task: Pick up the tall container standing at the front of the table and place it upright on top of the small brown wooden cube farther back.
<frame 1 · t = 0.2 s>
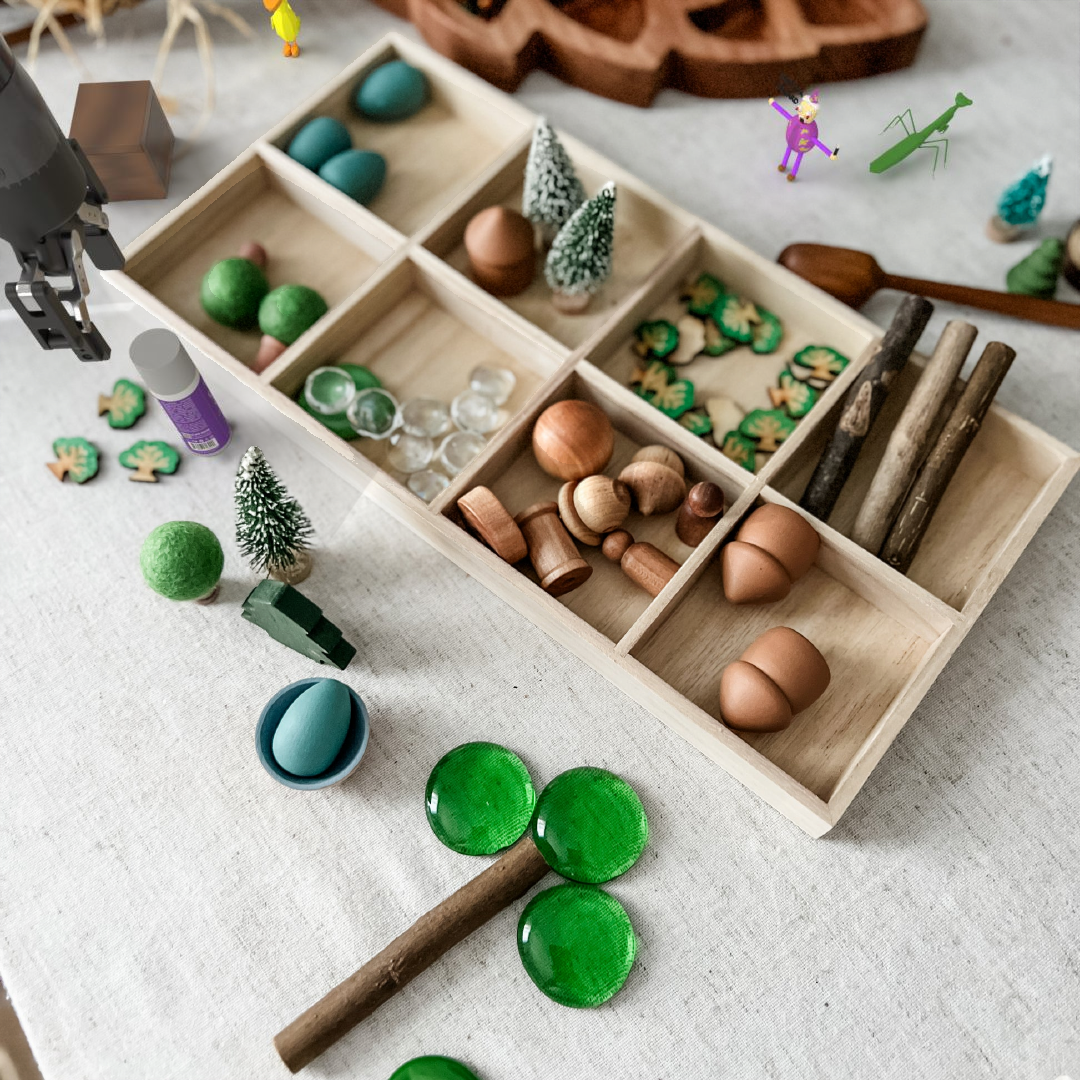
hand: (105, 311, 71), 25 cm above the table, tool pointing down, fingers open, 8 cm apart
praying mantis: (909, 155, 113), on the table
brown wooden cube: (136, 168, 111), on the table
toy figure: (291, 53, 120), on the table
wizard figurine: (789, 174, 111), on the table
container: (209, 438, 96), on the table
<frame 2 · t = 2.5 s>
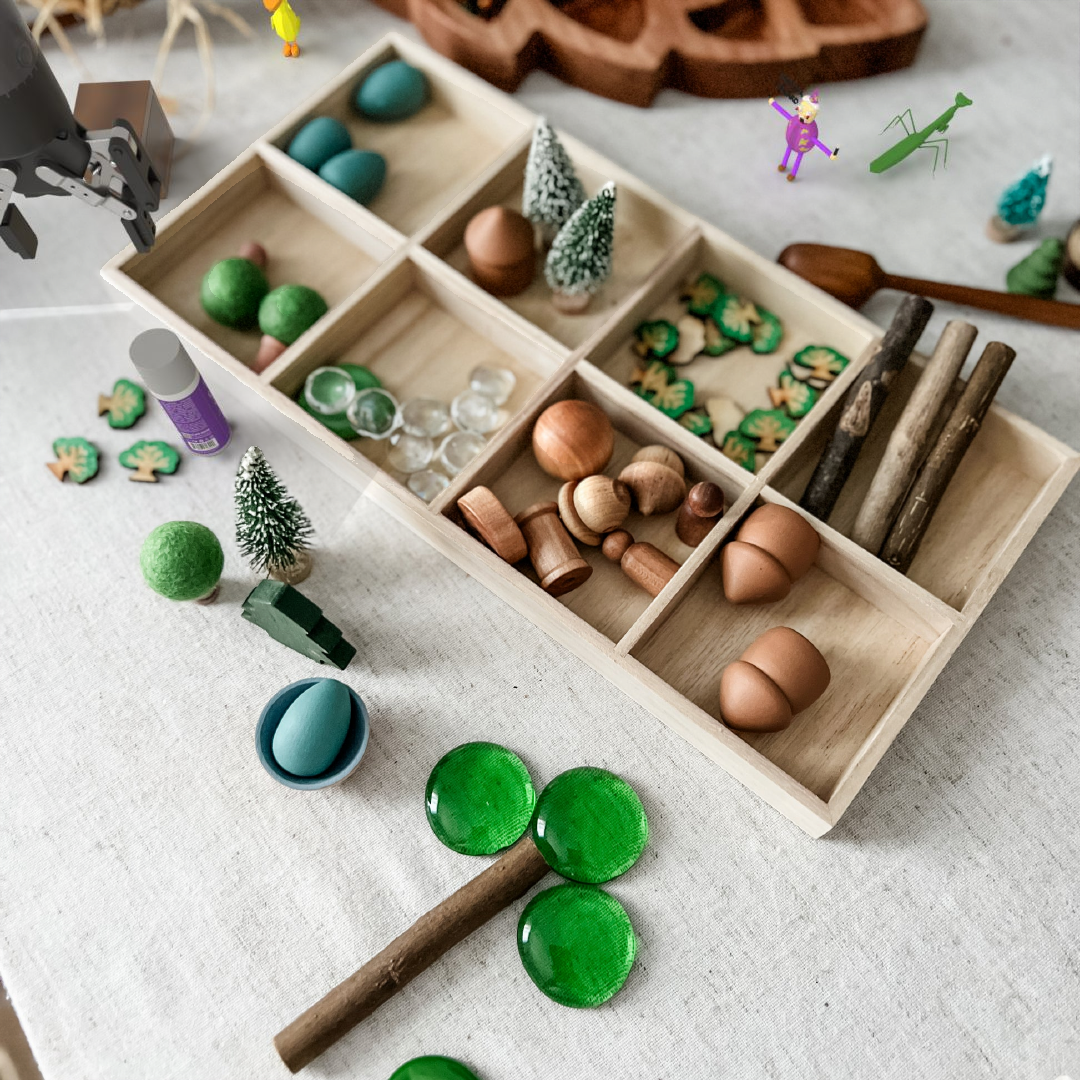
hand: (89, 247, 70), 28 cm above the table, tool pointing down, fingers open, 8 cm apart
nothing on the table moved.
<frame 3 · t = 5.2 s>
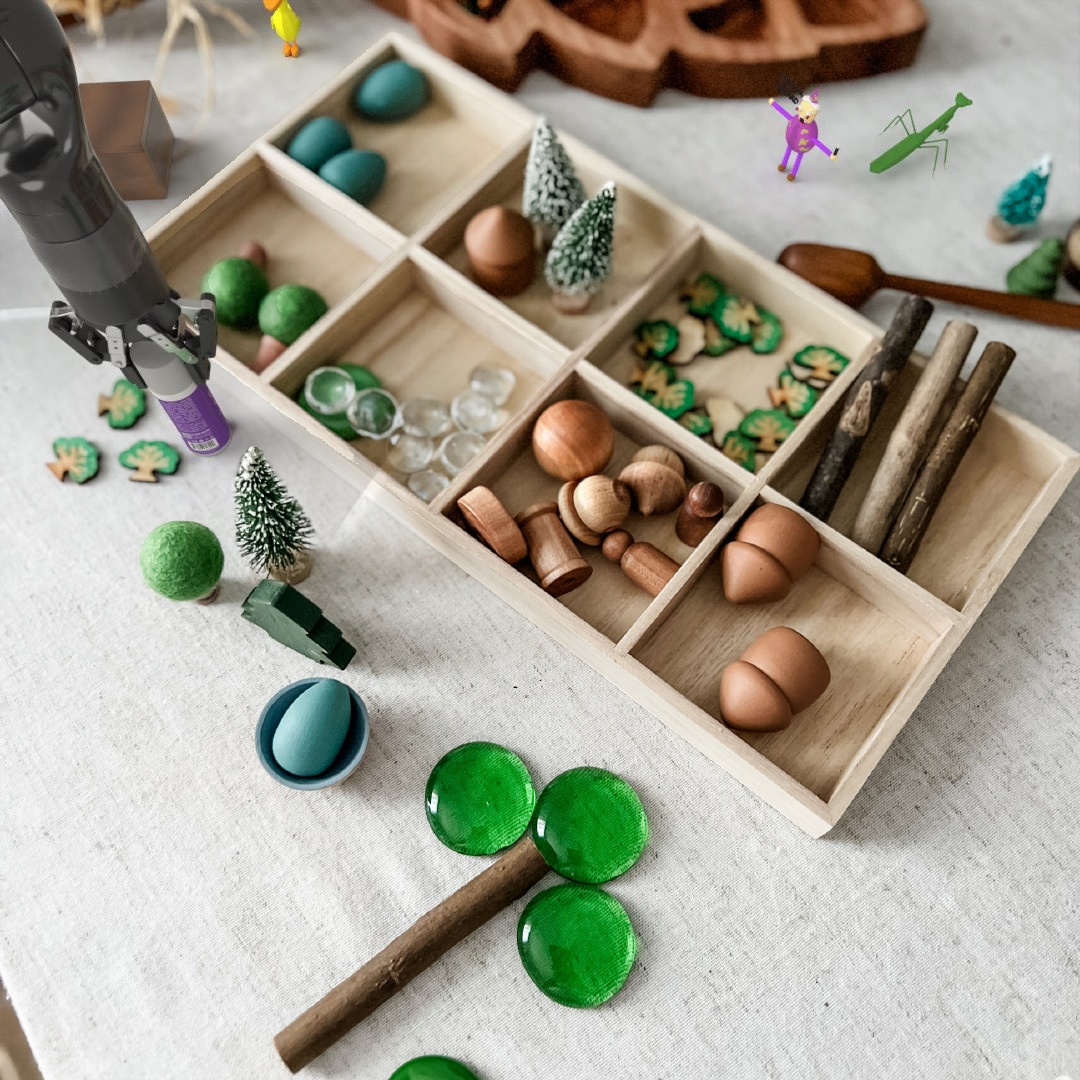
hand: (173, 378, 86), 10 cm above the table, tool pointing down, fingers closed on container, 4 cm apart
container: (209, 438, 96), on the table, touching gripper
everything else where it was.
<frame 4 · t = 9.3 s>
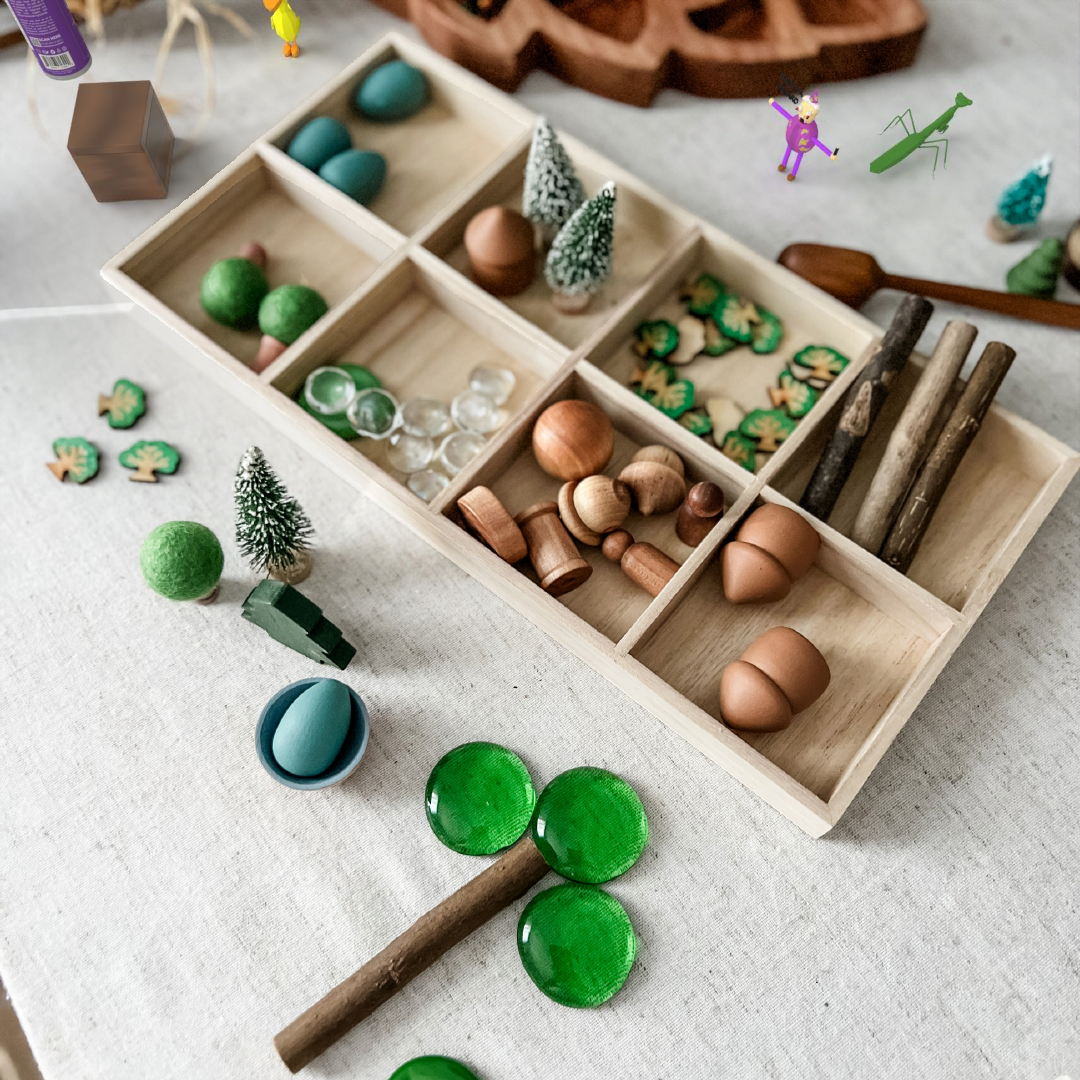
container: (68, 65, 89), point 21 cm above the table, touching gripper
everything else where it was.
when the fingers open (18 cm above the table, at t = 13.4 s): container stays where it is, resting on brown wooden cube.
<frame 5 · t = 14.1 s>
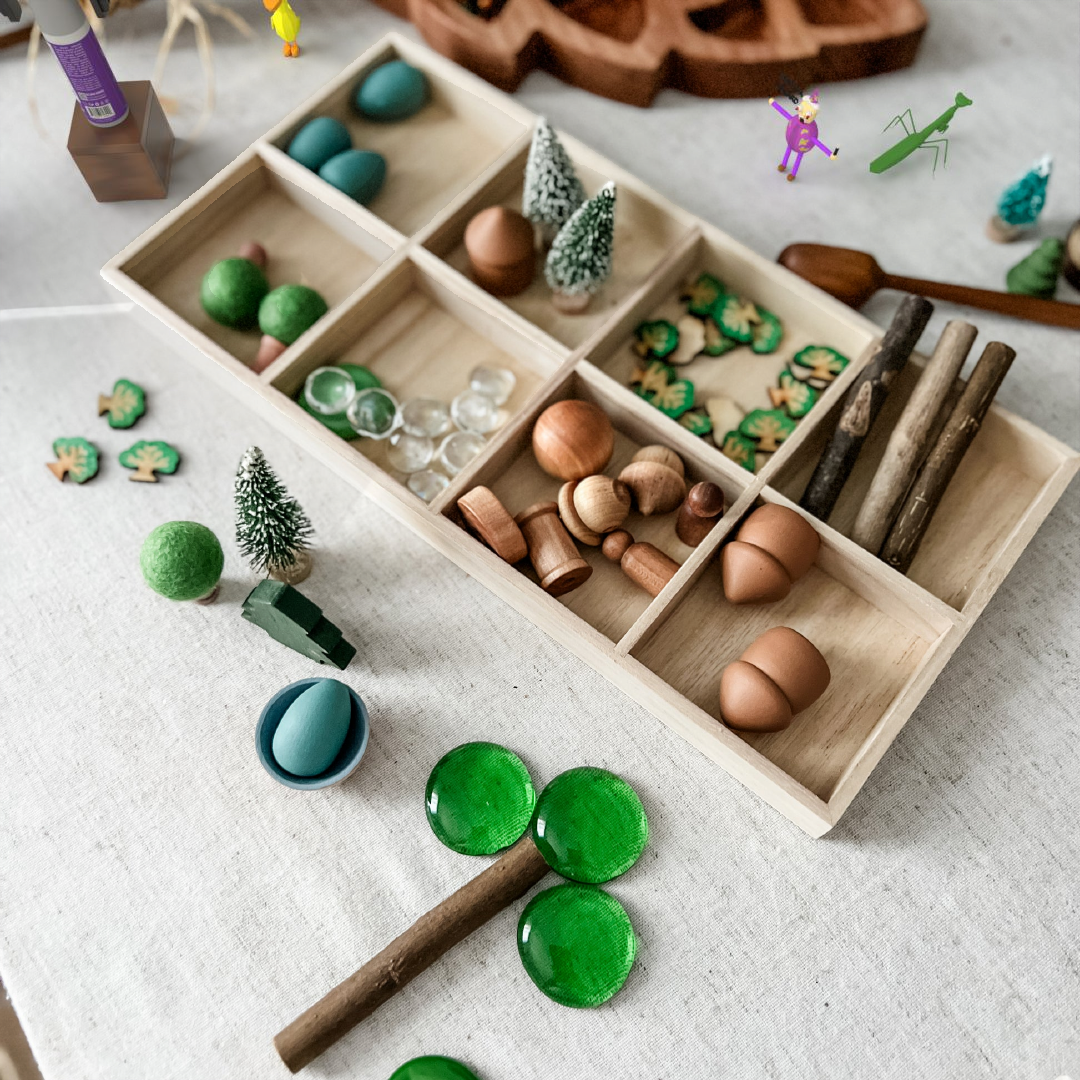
hand: (60, 15, 94), 20 cm above the table, tool pointing down, fingers open, 8 cm apart
container: (108, 114, 104), point 8 cm above the table, touching brown wooden cube
everything else where it was.
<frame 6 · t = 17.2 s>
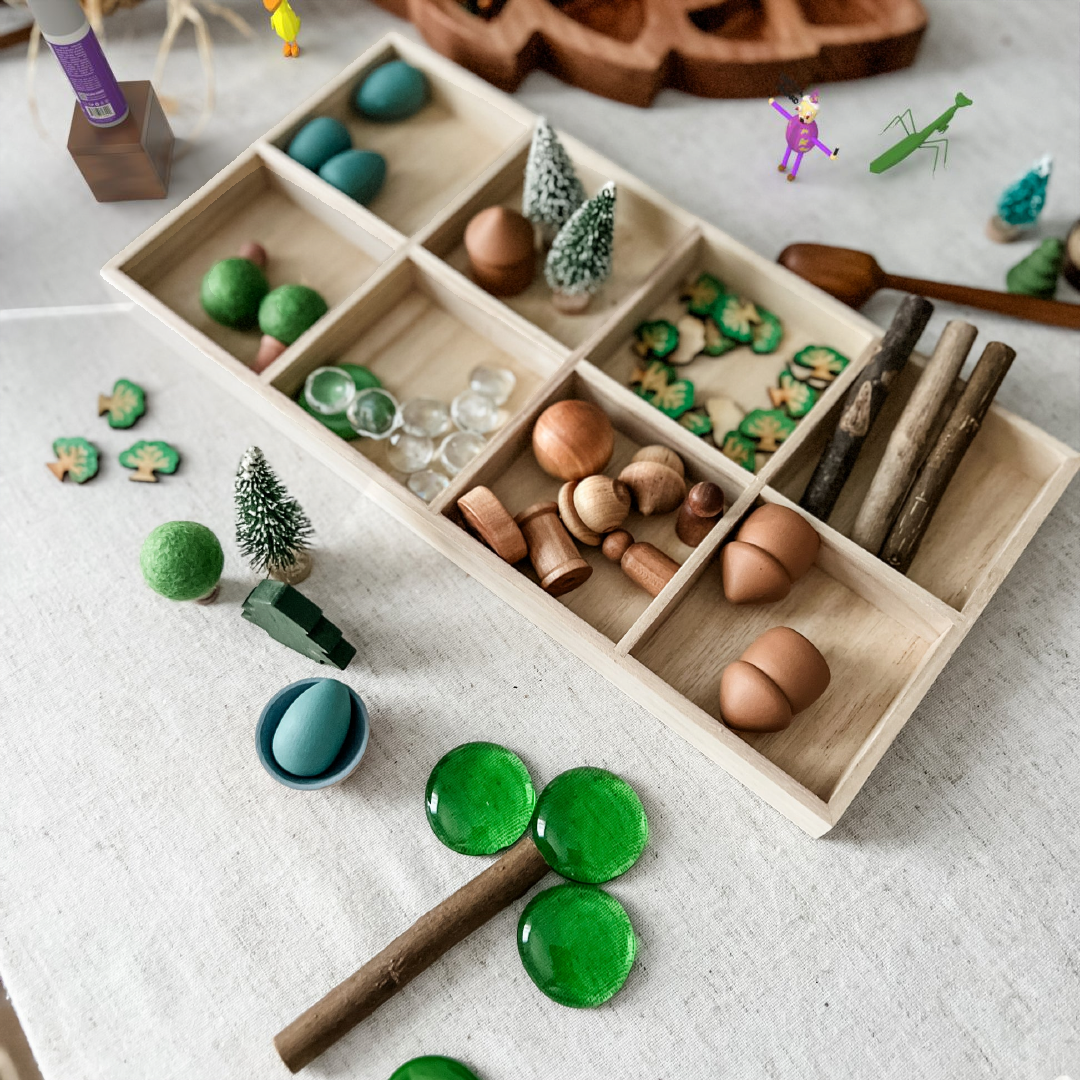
nothing on the table moved.
at the end: container inside the target area on the brown wooden cube (0.1 cm from its centre), point 7.8 cm above the brown wooden cube's base; container tilted 0°; the gripper is holding nothing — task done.
